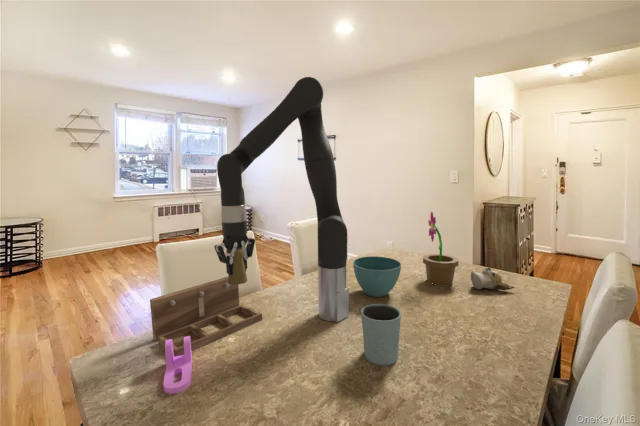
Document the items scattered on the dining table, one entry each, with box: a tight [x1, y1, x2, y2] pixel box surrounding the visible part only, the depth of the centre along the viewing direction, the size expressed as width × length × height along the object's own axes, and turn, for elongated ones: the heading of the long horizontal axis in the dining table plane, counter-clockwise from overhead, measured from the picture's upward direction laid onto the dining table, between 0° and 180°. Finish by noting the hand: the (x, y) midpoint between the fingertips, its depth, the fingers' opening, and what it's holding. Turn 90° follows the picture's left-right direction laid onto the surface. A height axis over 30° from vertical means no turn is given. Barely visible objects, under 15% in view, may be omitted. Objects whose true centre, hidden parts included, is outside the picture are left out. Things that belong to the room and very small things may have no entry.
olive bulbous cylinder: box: [227, 248, 248, 286], centre depth 101 cm, size 6×6×11 cm
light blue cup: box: [360, 303, 402, 366], centre depth 83 cm, size 10×10×12 cm
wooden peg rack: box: [149, 276, 263, 357], centre depth 98 cm, size 14×28×12 cm, turn 139°
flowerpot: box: [422, 211, 460, 286], centre depth 135 cm, size 14×14×30 cm
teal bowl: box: [352, 255, 402, 298], centre depth 125 cm, size 18×18×12 cm
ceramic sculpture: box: [470, 267, 515, 291], centre depth 129 cm, size 11×9×15 cm
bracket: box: [162, 335, 193, 395], centre depth 76 cm, size 13×6×7 cm, turn 20°
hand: (237, 272), depth 102 cm, fingers closed on olive bulbous cylinder, 4 cm apart
